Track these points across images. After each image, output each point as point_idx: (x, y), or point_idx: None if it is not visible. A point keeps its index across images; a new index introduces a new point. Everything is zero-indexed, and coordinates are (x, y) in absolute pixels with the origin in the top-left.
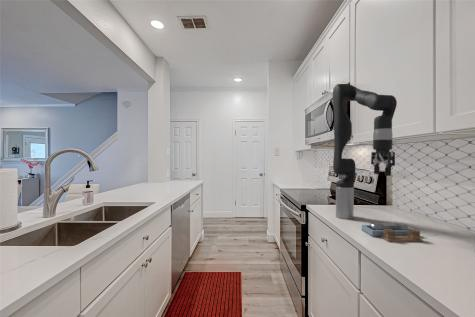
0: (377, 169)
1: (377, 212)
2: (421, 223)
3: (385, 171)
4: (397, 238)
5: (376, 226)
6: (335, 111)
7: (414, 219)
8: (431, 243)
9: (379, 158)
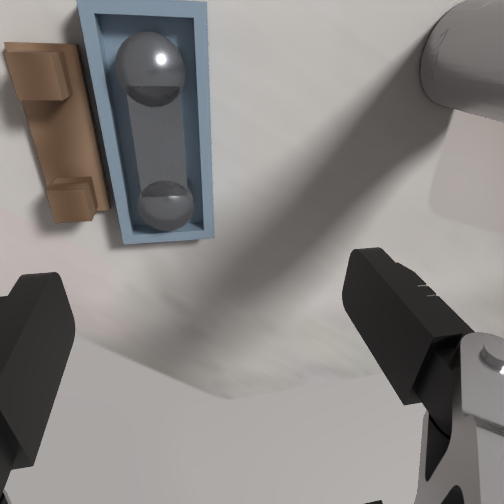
0: (381, 328)
1: (471, 262)
2: (304, 328)
3: (12, 316)
4: (47, 112)
5: (119, 49)
6: None
7: (352, 332)
8: (55, 233)
9: None
